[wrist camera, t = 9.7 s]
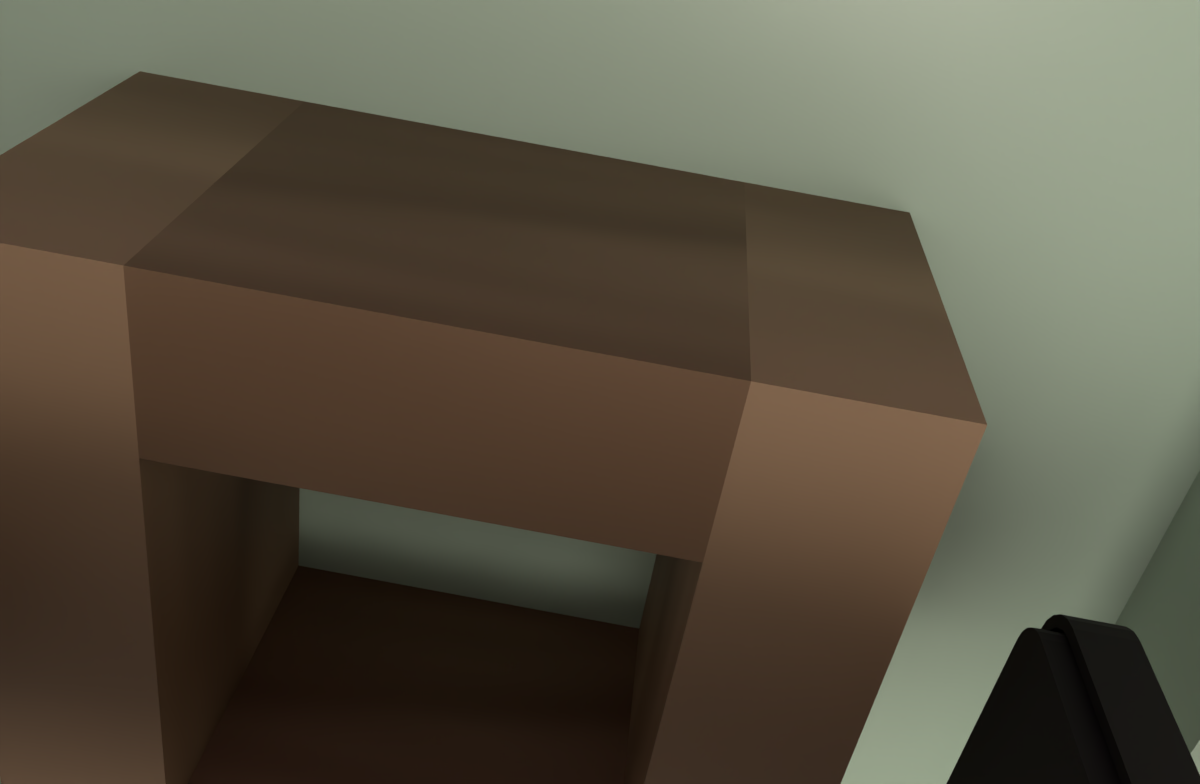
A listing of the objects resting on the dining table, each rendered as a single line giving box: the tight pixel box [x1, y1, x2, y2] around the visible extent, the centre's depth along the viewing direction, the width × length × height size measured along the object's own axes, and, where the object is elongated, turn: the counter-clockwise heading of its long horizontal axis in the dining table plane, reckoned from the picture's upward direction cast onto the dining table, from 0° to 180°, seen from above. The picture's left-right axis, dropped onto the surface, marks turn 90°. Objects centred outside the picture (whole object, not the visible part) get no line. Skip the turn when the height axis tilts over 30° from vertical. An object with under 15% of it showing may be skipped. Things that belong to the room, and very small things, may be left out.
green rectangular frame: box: [0, 0, 1200, 784], centre depth 11 cm, size 15×15×2 cm
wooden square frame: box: [0, 71, 987, 784], centre depth 10 cm, size 7×7×4 cm
